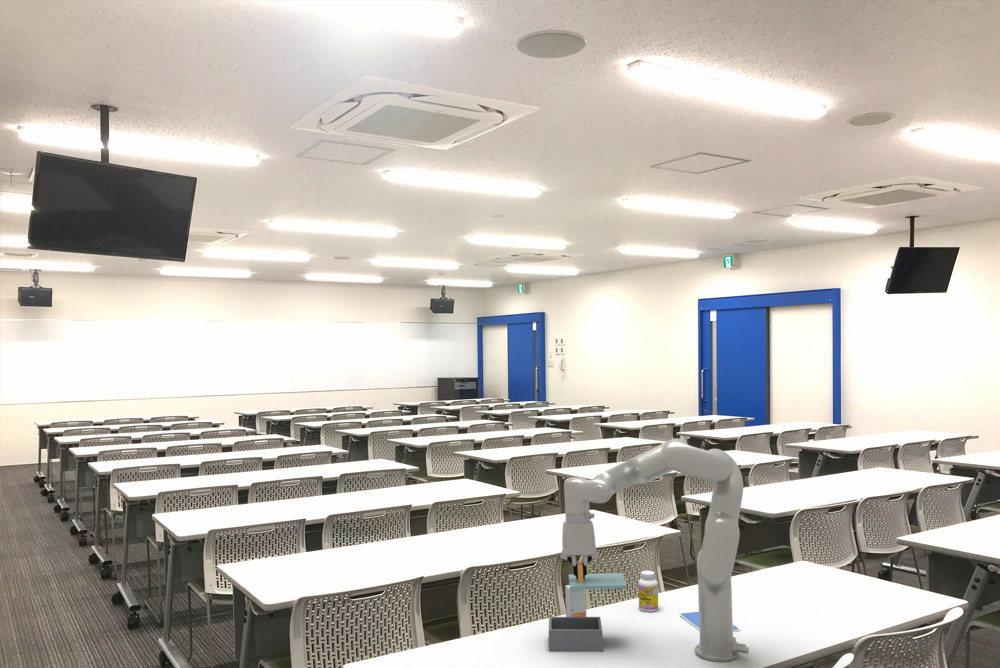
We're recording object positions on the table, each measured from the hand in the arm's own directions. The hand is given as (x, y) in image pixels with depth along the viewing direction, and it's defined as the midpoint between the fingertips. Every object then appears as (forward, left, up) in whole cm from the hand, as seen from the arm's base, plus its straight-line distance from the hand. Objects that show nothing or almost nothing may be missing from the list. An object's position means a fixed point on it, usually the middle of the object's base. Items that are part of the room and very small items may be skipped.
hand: (580, 577), depth 235 cm
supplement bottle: (-9, -40, -21) cm, 46 cm away
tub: (+1, +2, -20) cm, 21 cm away
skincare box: (+9, -18, -21) cm, 29 cm away
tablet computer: (-31, -34, -21) cm, 51 cm away
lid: (-5, -2, -2) cm, 5 cm away
